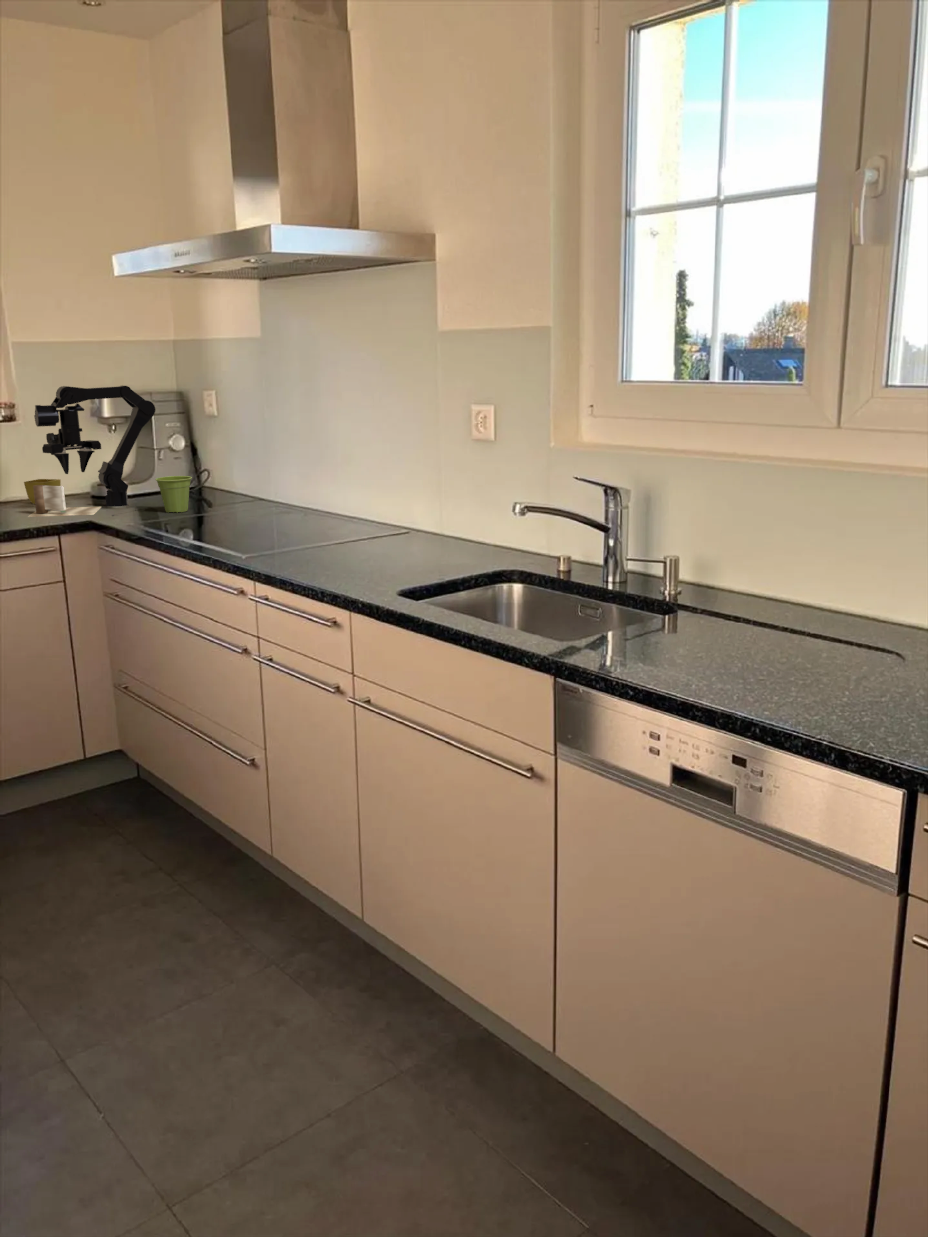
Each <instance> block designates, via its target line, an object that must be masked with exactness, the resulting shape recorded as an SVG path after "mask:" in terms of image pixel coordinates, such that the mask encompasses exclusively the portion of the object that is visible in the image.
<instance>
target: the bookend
mask: <svg viewBox="0 0 928 1237" xmlns="http://www.w3.org/2000/svg"><path fill="white" fill-rule="evenodd" d="M33 489H34V498H35V504H34V505H35V511H36V513H48V511H50V510H66V508H67V506H66V497H65V488H64V486H63V485H61V486H45V485H35V486H33Z"/></svg>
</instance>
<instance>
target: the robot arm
mask: <svg viewBox="0 0 928 1237" xmlns="http://www.w3.org/2000/svg"><path fill="white" fill-rule="evenodd" d="M118 398H120V399H123V401H124V402H125V403H127V405H128V406H130V407H131V409H132V410H131V411H130V412H131V413H130V419H129V424H128V425H127V427H126V430H125V431H124V433H123V435H122V437H121V439H120V441H119V443H118V446H116V449H115V451H114V453H113V455H112V456H111V459H110V460H109V461H108V462H107V461H102V464H101V467H100V468H99V470H98V471H97V473H98V476H97V477H98V479H99V482H100V484H102V485H103V486H104V487H105V489H106V495H105V498H104V499H105V506H106V507H115V508H116V507H125V506H126V507H128V506H130V505H129V499H128V498H129V497H128V488H129V484H127V483H126V482H125V481H124V480H122V478H123V474H124V468H125V463H126V461H127V459H128V458H129V455H130V454H131V452H132V449H133V448H134V445H135V443H136V442H137V440H138V438H139V435H140V434H141V432H142V429H143V428H144V427H145V426H146V425H147V424H148V423H149V422H150V420H151V419H152V417H153V416H154V415H155V413H156V407H155V404H154V403H153V402H152V401H150V400H146V399H144V397H142V396H141V395H139V394H138V393H136V392H135V391H134V390H133V389H131V387H130V386H128V385H117V386H105V387H104V386H103V387H89V388H88V387H86V388H84V387H76V386H75V387H74V386H69V385H68V386H67V385H63V386H60V387H58V388H57V390H56V392H55V397H54V399H53V400H52V402H51V404H50V405H49V404H48V405H47V404H46V405H41V404H35V405H34V407H35V408H34V415H33V416H34V421H35V425H36V427H37V428H38V427H40V428H41V427H56V425H57V424H58V423H60V428H58V430H57V431H58V433H57V434H54V432H48V433H47V434H46V436H45V438H46V442H47V443H44V444H43V446H42V453H43V454H50V455H52V456H54V457H55V458H56V459H57V460H58V462H59V463H60V466H61V468H62V469H63V472H64V474H65V475H69V472H70V471H69V470H70V462H69V461H70V460H69V459H70V455H69V454H70V453H68V452H66V451H70V450H71V451H72V450H77V451H76V452H77V454H78V456H79V464H80V466H79V467H80V471H81V473H85V472H86V469H87V466H88V464H89V461H90V459H91V457H92V455H93V453H95V450H102V444H101V442H100V441H99V440H94V439H93V440H92V439H91V440H90V439H88V440H81V432H83V428H81V427H80V419H79V418H80V417H79V412H85V408H84V407H82V406H81V405H80V403H82V402H85V401H90V400H91V401H92V400H102V399H103V400H104V399H118ZM74 404H75V405H74Z"/></svg>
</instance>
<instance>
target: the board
mask: <svg viewBox="0 0 928 1237" xmlns="http://www.w3.org/2000/svg"><path fill="white" fill-rule="evenodd" d="M101 508H102V506H76V507H74V506H69V507H66V510H50V511H48V513H36V510H35V511H34V512H32V513H31V514H29V515H28V516H27V518H31V517H32V518H35V517H36V518H37V517H61V516H65V517H67V516H89V515H90V516H93V515H95V514H96V513H97V512H98V511H99V510H100V509H101Z"/></svg>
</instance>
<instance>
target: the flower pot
mask: <svg viewBox="0 0 928 1237" xmlns="http://www.w3.org/2000/svg"><path fill="white" fill-rule="evenodd" d="M23 484H24V488H25V491H26V496H27V497H28V499H29V501H30V503H31V504H33V505H35V498H34V489H33V486H35V485H45V486H62V483H61V479H59V478H58V479H56V478H54V479H53V478H50V479H49V478H37V479H33V480H28V481H23Z"/></svg>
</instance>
